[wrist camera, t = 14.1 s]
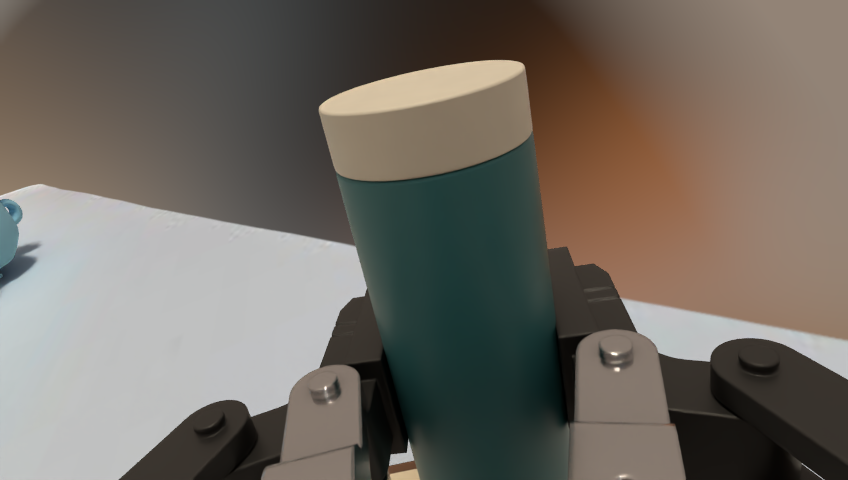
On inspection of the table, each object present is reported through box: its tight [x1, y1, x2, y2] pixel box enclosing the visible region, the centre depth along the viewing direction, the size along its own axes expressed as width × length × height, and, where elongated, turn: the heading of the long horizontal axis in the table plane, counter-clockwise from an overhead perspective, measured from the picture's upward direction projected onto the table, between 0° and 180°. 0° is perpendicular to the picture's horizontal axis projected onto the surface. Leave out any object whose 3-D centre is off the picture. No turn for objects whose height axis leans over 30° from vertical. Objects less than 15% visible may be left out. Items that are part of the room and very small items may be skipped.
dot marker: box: [319, 60, 569, 480], centre depth 11 cm, size 3×3×13 cm
